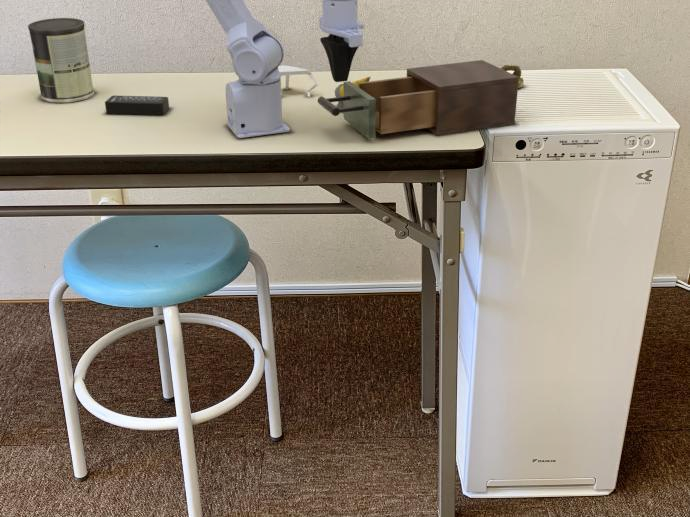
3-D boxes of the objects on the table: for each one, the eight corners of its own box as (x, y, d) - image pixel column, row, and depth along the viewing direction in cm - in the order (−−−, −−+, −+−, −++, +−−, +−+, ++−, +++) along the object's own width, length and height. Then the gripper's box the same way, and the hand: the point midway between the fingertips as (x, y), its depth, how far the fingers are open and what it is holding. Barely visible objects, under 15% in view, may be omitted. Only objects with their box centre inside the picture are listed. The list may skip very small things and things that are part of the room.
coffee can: (32, 102, 162) (18, 29, 155) (53, 87, 171) (41, 17, 164) (83, 103, 161) (71, 30, 154) (102, 88, 170) (92, 18, 163)
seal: (449, 96, 168) (524, 96, 166) (450, 73, 165) (527, 74, 164) (448, 78, 175) (520, 78, 174) (449, 56, 173) (522, 57, 171)
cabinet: (436, 135, 144) (439, 87, 140) (405, 114, 154) (406, 68, 150) (514, 124, 149) (519, 77, 145) (479, 104, 159) (482, 59, 155)
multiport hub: (163, 115, 154) (161, 103, 153) (105, 114, 155) (104, 102, 154) (169, 108, 158) (168, 96, 157) (113, 106, 159) (112, 95, 158)
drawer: (337, 143, 138) (336, 103, 135) (313, 123, 147) (312, 85, 144) (445, 128, 145) (447, 90, 141) (416, 109, 154) (417, 73, 151)
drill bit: (348, 104, 161) (382, 74, 155) (346, 123, 158) (380, 94, 151) (326, 90, 159) (360, 59, 152) (324, 109, 155) (358, 78, 149)
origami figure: (255, 99, 163) (254, 74, 161) (263, 87, 170) (262, 63, 168) (316, 100, 162) (316, 75, 160) (321, 88, 169) (321, 64, 167)
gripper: (380, 3, 129) (379, 89, 136) (346, -12, 141) (346, 67, 148) (338, 7, 127) (338, 94, 133) (307, -10, 139) (309, 71, 145)
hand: (340, 80), depth 140 cm, fingers closed
